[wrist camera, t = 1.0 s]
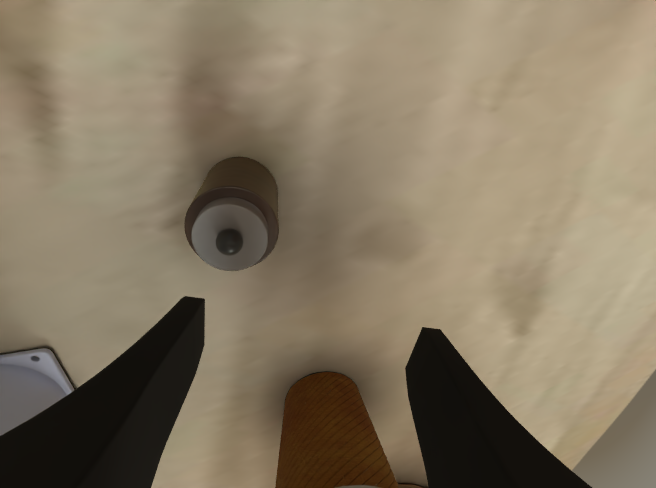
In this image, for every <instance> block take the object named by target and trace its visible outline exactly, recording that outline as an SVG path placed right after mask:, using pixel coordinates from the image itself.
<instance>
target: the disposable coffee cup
mask: <svg viewBox="0 0 656 488" xmlns="http://www.w3.org/2000/svg"><path fill="white" fill-rule="evenodd" d="M275 488H399V487H398V484H397V482H396V480H395V478H394V474H393V472H392V470H391V468H390V465H389V463H388V461H387V457H386V455H385V453H384V451H383V448H382V446H381V444H380V441H379V439H378V437H377V434H376V432H375V430H374V426H373V424H372V422H371V419H370V417H369V414H368V412H367V410H366V407H365V405H364V403H363V400H362V398H361V396H360V393H359V390H358V388H357V386H356V384H355V383H354V382H353V381H352V380H351V379H350V378H348V377H346V376H344V375H342V374H338V373H333V372H322V373H316V374H312V375H309V376H307V377H304V378H303V379H301V380H299V381H298V382H297V383H296V384H294V385H293V386H292V387H291V389H290V390H289V392H288V394H287V396H286V399H285V408H284V417H283V425H282V434H281V443H280V452H279V460H278V469H277V478H276V487H275Z"/></svg>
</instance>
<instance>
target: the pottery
mask: <svg viewBox="0 0 656 488" xmlns="http://www.w3.org/2000/svg"><path fill="white" fill-rule="evenodd" d="M398 487H399V488H423V487H420V486H416V485H413V484H398Z"/></svg>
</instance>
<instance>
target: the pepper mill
mask: <svg viewBox="0 0 656 488" xmlns="http://www.w3.org/2000/svg"><path fill="white" fill-rule="evenodd" d="M185 233H186V237H187V240H188V242H189V244H190V246H191V247H192V249H193V250H194V251H195V252H196V254H197V255H198V256H200V258H201V259H202V260H203V261H205V262H206V263H207V264H209V265H210V266H213V267H215V268H217V269H221V270H226V271H238V270H243V269H246V268H248V267H251V266H253V265H256V264H258V263H259V262H261V261H262V260H264V259H265V258H266V257H267V256H268V255H269V254H270V253H271V251H272V250H273V248H274V247H275V245H276V242H277V239H278V233H279V222H278V191H277V185H276V182H275V179H274V178H273V176H272V174H271V173H270V172H269V170H268V169H267V168H266V167H264V166H263V165H262V164H260V163H259V162H257V161H255V160H252V159H249V158H244V157H233V158H228V159H225V160H223V161H221V162H219V163H218V164H216V165H215V166H214V167H213V168H212V169H211V170H210V172H209V173H208V175H207V177H206V178H205V180H204V182H203V184H202V186H201V187H200V189H199V191H198V193H197V194H196V196H195V198H194V200H193V201H192V203H191V205H190V207H189V209H188V211H187V213H186V217H185Z"/></svg>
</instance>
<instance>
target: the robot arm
mask: <svg viewBox="0 0 656 488" xmlns="http://www.w3.org/2000/svg"><path fill="white" fill-rule="evenodd" d="M204 320H205V299H203V298H195V297H187V296H185V297H183V298H182V299H181V300H180V301H179V302H178V303H177V304H176V305H175V306H174V307H173V308H172V309H171V310H170V311H169V312H168V313H167V314H166V315H165V316H164V317H163V318H162V319H161V320H160V321H159V322H158V323H157V324H156V325H155V326H154V327H152V328H151V329H150V330H149V331H148V332H147V333H146V334H145V335H144V336H143V337H141V338H140V339H139V340H138V341H137V342H136V343H135V344H134V345H132V346H131V347H130V348H129V349H128V350H127V351H125V352H124V353H123V354H122V355H120V356H119V357H118V358H117V359H116V360H114V361H113V362H112V363H111V364H110V365H108V366H107V367H106V368H104V369H103V370H102V371H100V372H99V373H98V374H97V375H95V376H94V377H93V378H91V379H90V380H88V381H87V382H86V383H84V384H83V385H81V386H80V387H79V388H77V389H76V390H74V388H73V386H72V385H71V383H70V381H69V380H68V378H67V376H66V374H65V373H64V371H63V369H62V368H61V366H60V364H59V362H58V361H57V359H56V357H55V356H54V354H53V352H52V351H51V350H49V349H46V348H42V349H35V350H29V351H23V352H17V353H10V354H4V355H0V488H151V486H152V483H153V479H154V476H155V473H156V470H157V467H158V464H159V461H160V458H161V455H162V453H163V450H164V447H165V445H166V442H167V440H168V438H169V435H170V433H171V431H172V428H173V426H174V424H175V421H176V419H177V417H178V414H179V412H180V410H181V407H182V405H183V403H184V400H185V398H186V396H187V393H188V391H189V388H190V386H191V384H192V381H193V379H194V377H195V374H196V371H197V368H198V364H199V361H200V358H201V354H202V351H203V347H204ZM36 356H37V357H36ZM405 369H406V380H407V389H408V397H409V402H410V406H411V411H412V415H413V419H414V423H415V428H416V432H417V436H418V440H419V444H420V448H421V453H422V457H423V461H424V465H425V470H426V475H427V480H428V486H429V488H592V487H590V486H589V485H588V484H587V483H586V482H584V481H583V480H582V479H581V478H580V477H578V476H577V475H576V474H575V473H573V472H572V471H571V470H570V469H569V468H568V467H566V466H565V465H564V464H563V463H562V462H561V461H559V460H558V459H557V458H556V457H555V456H554V455H553V454H551V453H550V452H549V451H548V450H547V449H546V448H545V447H544V446H543V445H542V444H540V443H539V442H538V441H537V440H536V439H535V438H534V437H533V436H532V435H531V434H530V433H529V432H528V431H527V430H526V429H525V428H524V427H523V426H522V425H521V424H520V423H519V422H518V421H517V420H516V419H515V418H514V417H513V416H512V415H511V414H510V413H509V412H508V411H507V410H506V409H505V407H504V406H503V405H502V404H501V403H500V402H499V401H498V400H497V399H496V398H495V396H494V395H493V394H492V393H491V392H490V391H489V390H488V388H487V387H486V386H485V385H484V384H483V382H482V381H481V380H480V379H479V378H478V376H477V375H476V374H475V373H474V372H473V370H472V369H471V368H470V367H469V365H468V364H467V363H466V362H465V360H464V359H463V358H462V356H461V355H460V354H459V353H458V351H457V350H456V349H455V348H454V346H453V345H452V344H451V342H450V341H449V340H448V339H447V337H446V336H445V335H444V334H443V332H442V331H441V330H440V329H433V328H426V327H422V330H421V332H420V335H419V337H418V339H417V342H416V344H415V347H414V349H413V351H412V354H411V356H410V358H409V361H408V363H407V366H406V368H405Z"/></svg>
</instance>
